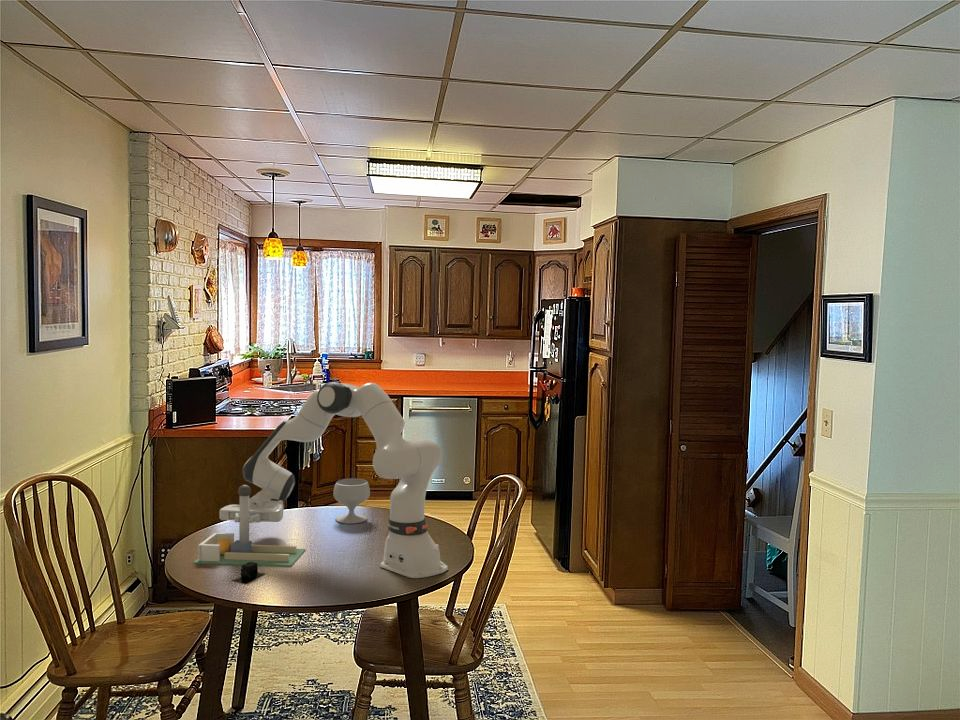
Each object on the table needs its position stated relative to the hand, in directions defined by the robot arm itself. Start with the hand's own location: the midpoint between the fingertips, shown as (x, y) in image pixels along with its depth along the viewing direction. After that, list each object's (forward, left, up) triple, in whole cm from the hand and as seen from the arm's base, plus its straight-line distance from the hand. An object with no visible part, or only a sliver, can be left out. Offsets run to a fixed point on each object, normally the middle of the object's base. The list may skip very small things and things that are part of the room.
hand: (243, 520), depth 228 cm
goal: (-1, -2, -12) cm, 12 cm away
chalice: (+19, -49, -12) cm, 54 cm away
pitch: (-1, -2, -12) cm, 12 cm away
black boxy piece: (-18, +5, -13) cm, 23 cm away
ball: (+5, +5, -9) cm, 11 cm away
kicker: (+1, 0, -11) cm, 11 cm away
